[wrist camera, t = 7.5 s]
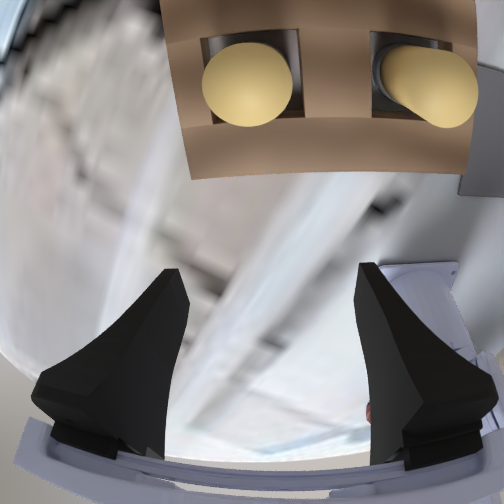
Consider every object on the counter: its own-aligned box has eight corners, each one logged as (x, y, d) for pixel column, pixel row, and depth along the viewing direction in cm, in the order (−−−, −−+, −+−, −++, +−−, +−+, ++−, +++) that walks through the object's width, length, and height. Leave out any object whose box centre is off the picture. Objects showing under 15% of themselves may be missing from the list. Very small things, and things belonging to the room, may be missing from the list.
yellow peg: (429, 104, 16) (477, 132, 12) (373, 101, 17) (408, 128, 12) (428, 46, 14) (480, 55, 9) (369, 41, 15) (406, 43, 10)
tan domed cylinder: (292, 101, 18) (298, 125, 13) (227, 106, 18) (207, 133, 13) (286, 39, 15) (290, 36, 10) (218, 45, 16) (193, 47, 11)
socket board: (452, 162, 18) (465, 174, 17) (198, 167, 21) (191, 179, 19) (459, 0, 11) (475, -1, 10) (169, -5, 13) (158, -9, 12)
